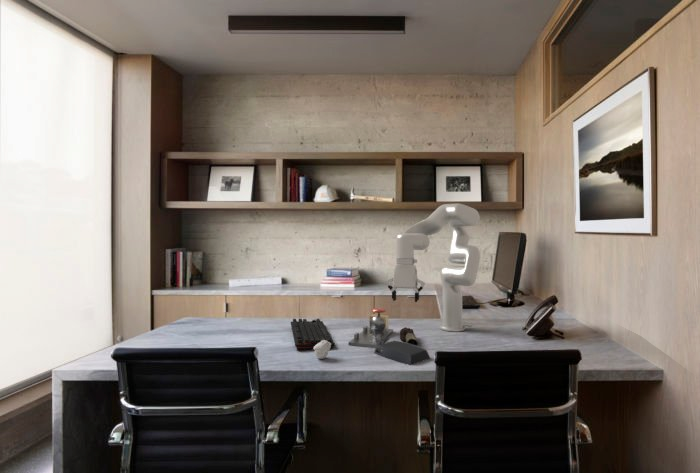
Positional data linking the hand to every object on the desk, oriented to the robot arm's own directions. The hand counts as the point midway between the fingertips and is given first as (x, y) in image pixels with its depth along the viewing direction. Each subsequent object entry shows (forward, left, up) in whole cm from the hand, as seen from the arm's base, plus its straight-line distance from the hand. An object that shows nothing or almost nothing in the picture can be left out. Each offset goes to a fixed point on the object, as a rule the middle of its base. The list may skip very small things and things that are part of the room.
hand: (405, 301), depth 174 cm
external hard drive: (-2, +19, -19) cm, 27 cm away
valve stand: (+16, -2, -18) cm, 24 cm away
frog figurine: (+26, +32, -18) cm, 45 cm away
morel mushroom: (-1, 0, -19) cm, 19 cm away
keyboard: (+44, +5, -19) cm, 48 cm away
